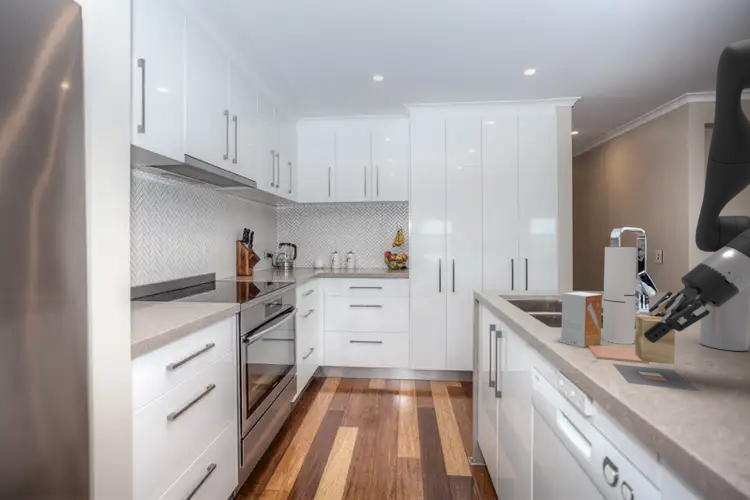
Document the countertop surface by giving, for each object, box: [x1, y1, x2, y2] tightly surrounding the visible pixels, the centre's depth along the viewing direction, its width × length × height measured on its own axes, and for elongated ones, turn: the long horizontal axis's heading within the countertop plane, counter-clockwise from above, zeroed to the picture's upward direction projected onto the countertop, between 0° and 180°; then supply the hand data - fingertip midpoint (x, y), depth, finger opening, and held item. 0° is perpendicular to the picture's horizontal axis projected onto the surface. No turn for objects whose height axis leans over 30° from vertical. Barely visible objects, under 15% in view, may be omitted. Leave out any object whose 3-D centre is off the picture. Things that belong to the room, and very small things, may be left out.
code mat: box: [612, 363, 701, 392], centre depth 76 cm, size 12×11×1 cm
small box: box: [560, 291, 603, 348], centre depth 100 cm, size 8×6×13 cm
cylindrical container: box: [602, 246, 637, 345], centre depth 103 cm, size 7×7×25 cm
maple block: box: [634, 314, 676, 365], centre depth 76 cm, size 5×5×8 cm
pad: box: [587, 345, 650, 365], centre depth 90 cm, size 10×10×1 cm
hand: (643, 335), depth 76 cm, fingers closed on maple block, 5 cm apart
